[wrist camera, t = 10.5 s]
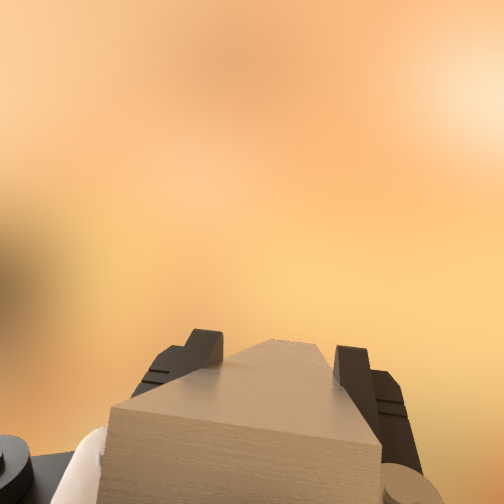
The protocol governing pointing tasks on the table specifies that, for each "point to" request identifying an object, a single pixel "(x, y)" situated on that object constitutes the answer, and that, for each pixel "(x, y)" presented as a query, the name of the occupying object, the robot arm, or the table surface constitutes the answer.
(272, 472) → the tan wooden bar
